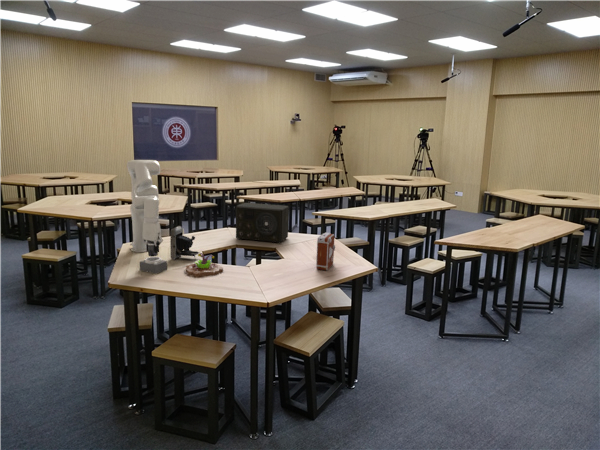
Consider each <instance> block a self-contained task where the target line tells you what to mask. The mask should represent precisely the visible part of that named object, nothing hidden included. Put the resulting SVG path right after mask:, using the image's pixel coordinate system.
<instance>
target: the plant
mask: <svg viewBox="0 0 600 450" xmlns="http://www.w3.org/2000/svg"><path fill="white" fill-rule="evenodd" d="M197 256H198V257H200V258H202V259H199V260H197V261H195V262H194V263H191V264H189V265H187V266H186V267H185V273H186V274H187V275H188V276H192V277H195V278H200V277H201V278H202V277H209V276H216V275H219V274H222V273H224V267H223V266H221V265H219V264H218V263H214V262H211V261H212V260H211V259H209V258H210V257H211V258H212V259H215V256H214V255H212V254H209V255H207V256H206V257H205V255H204V253H203V252H200V253H198V254H197Z"/></svg>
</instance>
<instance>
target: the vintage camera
mask: <svg viewBox="0 0 600 450" xmlns="http://www.w3.org/2000/svg"><path fill="white" fill-rule="evenodd" d="M183 228H184V227H183V226H181V225H178V226H176V227H172V229H171V230H170V245H169V247H170V255H169V256H170V259H171V260H176V259H178V258H179V257H181V256H182V257H184V256H185V257H194V258H196V256H198V254H200V253H201V252H199V251H197V250H196V251H193V250H191V248H192V246H193V244H194V241H195V239H196V236H194V235H192V236H191V238H190V237H188V236H186V235H184V234H183V232H184V229H183Z"/></svg>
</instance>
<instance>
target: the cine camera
mask: <svg viewBox="0 0 600 450" xmlns="http://www.w3.org/2000/svg"><path fill="white" fill-rule="evenodd" d="M335 251H336V245H335V234H334V233H331V232H324V233H322V234H321V235H319V236H317V241H316V258H315V259H316V263H315V264H316V265H315V267H316V270H320V271H328V270H330V268H332V266H333V265H334V258H335V257H334V256H335V255H334V254H335Z"/></svg>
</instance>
